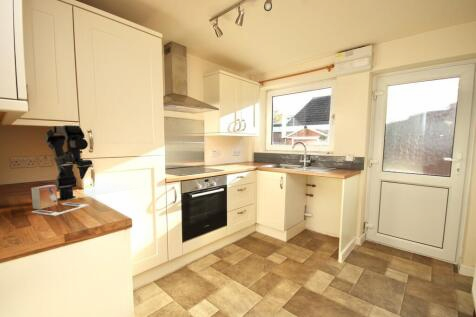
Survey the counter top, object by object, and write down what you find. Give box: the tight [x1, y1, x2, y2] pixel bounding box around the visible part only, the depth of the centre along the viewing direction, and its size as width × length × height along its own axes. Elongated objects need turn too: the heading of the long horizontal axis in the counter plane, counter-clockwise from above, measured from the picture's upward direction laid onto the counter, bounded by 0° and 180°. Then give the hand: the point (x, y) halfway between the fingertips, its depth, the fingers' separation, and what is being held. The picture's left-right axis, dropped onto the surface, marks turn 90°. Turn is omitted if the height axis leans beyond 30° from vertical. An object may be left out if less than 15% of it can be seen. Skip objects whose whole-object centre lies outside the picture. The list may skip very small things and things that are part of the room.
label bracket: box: [30, 202, 90, 217], centre depth 107 cm, size 16×16×1 cm
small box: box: [30, 184, 58, 210], centre depth 110 cm, size 8×6×10 cm
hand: (75, 178), depth 117 cm, fingers open, 9 cm apart
